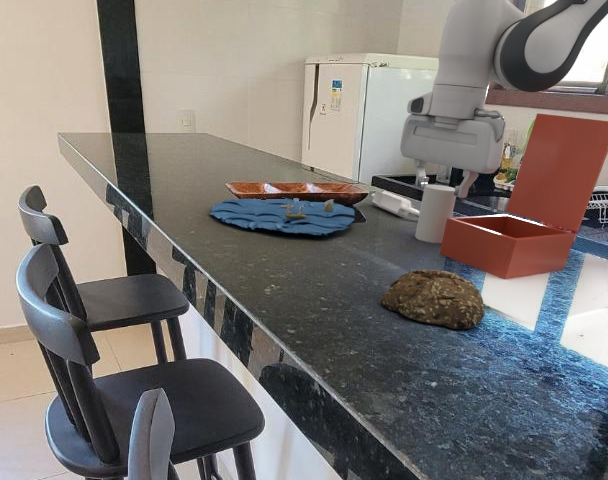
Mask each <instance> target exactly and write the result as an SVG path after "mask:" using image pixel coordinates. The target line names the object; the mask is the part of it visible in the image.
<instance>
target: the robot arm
mask: <svg viewBox="0 0 608 480" xmlns="http://www.w3.org/2000/svg"><path fill="white" fill-rule="evenodd" d="M607 16H608V0H555V1H554V2H553V3H551V4H550V5H548V6H545V7H542V8H541V9H539V10H537V11H534V12H533V13H531V14H529V15H528V14H526V13H525V12H523V11H522V10H521V9H519V8H518V7H516V6H515V4H514V3H512V2H511V1H510V0H454V1H453V2H452V3H451V4H450V6H449V9H448V11H447V14H446V18H445V21H444V25H443V28H442V34H441V38H440V43H439V49H438V56H437V57H438V69H437V73H436V75H435V77H434V80H433V84H432V87H431V88H432V90H431V91H429V92H427V93H424V94H421V95H419V96H416V97H414V98H410V99H409V100H408V102H407V107H406V112H407V113H408V114H409V115H407V117H406V118H405V120H404V124H403V127H402V132H401V137H400V138H401V139H400V146H399V147H400V148H399V149H400V153H401V156H402V157H403V158H408V159H411V160H413V168H414V173H415V177H416V178H415V184H414V185H415V187H418V188H423V189H424V188H425V185H429V181H430V180H429V179H430V177H428V176H427V173H426V167H428V163H431V164H434V165H435V164H436V165H441V166H446V167H451V168H455V169H461V170H463V172H462V177H463V180H462V181H461V183H460V184H459V185H455V187H454V188H455V192H454V196H456V198H459V199H465V198H467V197H468V194H469V189H470V188H471V186H472V185H473V184H474V182H475V181H476V180H477V178H478V175H479V174H494V173H496V171H497V170H498V169H499V168H500V165H501V159H502V153H503V146H504V134H505V131H506V127H507V120H506V118H505V116H504V115H503V114H502V113H501V111H498V110H489V109H484V108H485V104H486V99H487V95H488V89H489V86H490V84H491V83H494V84H499V85H500V86H501V87H503V88H506V89H510V90H517V91H521V92H526V93H539V92H544V91H546V90H549V89H551V88H552V87H555V86H556V85H557V84H559V83H560V82H561V81H562V80H563V79H564V78H565V77H566V76H567V75H568V73H569V72H570V71H571V70H572V68H573V67H574V64H576V61H577V59H578V58H579V55H580V53H581V50H582V49H583V47H584V45H585V43H586V42H587V39H588V38H589V37H590V35H591V33H592V32H593V31H594V30H595V28H596V27H597V26H598V25H599V24H600V23H601V22H602V21H603V19H604V18H606V17H607Z"/></svg>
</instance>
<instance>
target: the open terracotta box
mask: <svg viewBox="0 0 608 480" xmlns="http://www.w3.org/2000/svg"><path fill="white" fill-rule="evenodd" d="M575 235H576V234H574V233H570V232H567V231H563V230H560V229H556V228H552V227H549V226H545V225H542V224H540V223H538V222H535V221H531V220H527V219H524V218H520V217H516V216H513V215H510V214H492V215H491V214H490V215H475V216H473V215H472V216H458V217H452V218H447V221H446V226H445V230H444V235H443V240H442V243H440V244H441V245H440V249H439V255H441V256H444V257H446V258H449V259H452V260H454V261H457V262H459V263H462V264H465V265H466V266H469V267H472V268H473V269H474V268H475V269H477V270H480V271H482V272H485V273H488V274H490V275H492V276H495V277H498V278H501V279H503V280H511V279H517V278H524V277H530V276H537V275H542V274H549V273H554V272H559V271H560V272H561V271H564V270H565V267H566V264H567V262H568V258H569V255H570V252H571V249H572V248H573V246H572V244H573V241H574V238H575ZM574 242H575V241H574ZM573 245H574V244H573ZM571 247H572V248H571Z"/></svg>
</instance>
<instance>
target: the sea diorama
mask: <svg viewBox="0 0 608 480" xmlns="http://www.w3.org/2000/svg"><path fill="white" fill-rule="evenodd" d="M284 198H285V199H266V200H261V199H262V198H261V199H256V198H253V199H251V198H245V199H244V198H236V199H225V200H224V201H221V202H219V203H215V204H214V206H212V207H211V210H210V211H211V212H208V214H209V215H210V216H214V217H215V218H217V219H220V221H221V222H223V223H226V224H233V225H237V226H239V227H241V228H242V229H243V228H245V229H248V228H250V229H251V230H255V229H256V228H259V229H262V228H263V229H267V230H270V231H272V230H273V231H277V232H283V233H293V234H299V233H301V234H309V235H312V236H317V235H318V236H321V235H323V236H328V234H330V233H331V234H332V233H333V232H336V231H344V230H346V229H349V227H350V226H348V225H352V223H353V221H355V218H353V217H350V216H355V210H354V208H351V207H347V206H345V205H343V204H340V203H336V202H334V200H335V199H329V200H326V201H325V202H323V201H308V200H301V201H299V200H300V198H297V197H295V198H293V200H292V198H288V197H284ZM344 215H349V216H344ZM287 222H288V223H287Z"/></svg>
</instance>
